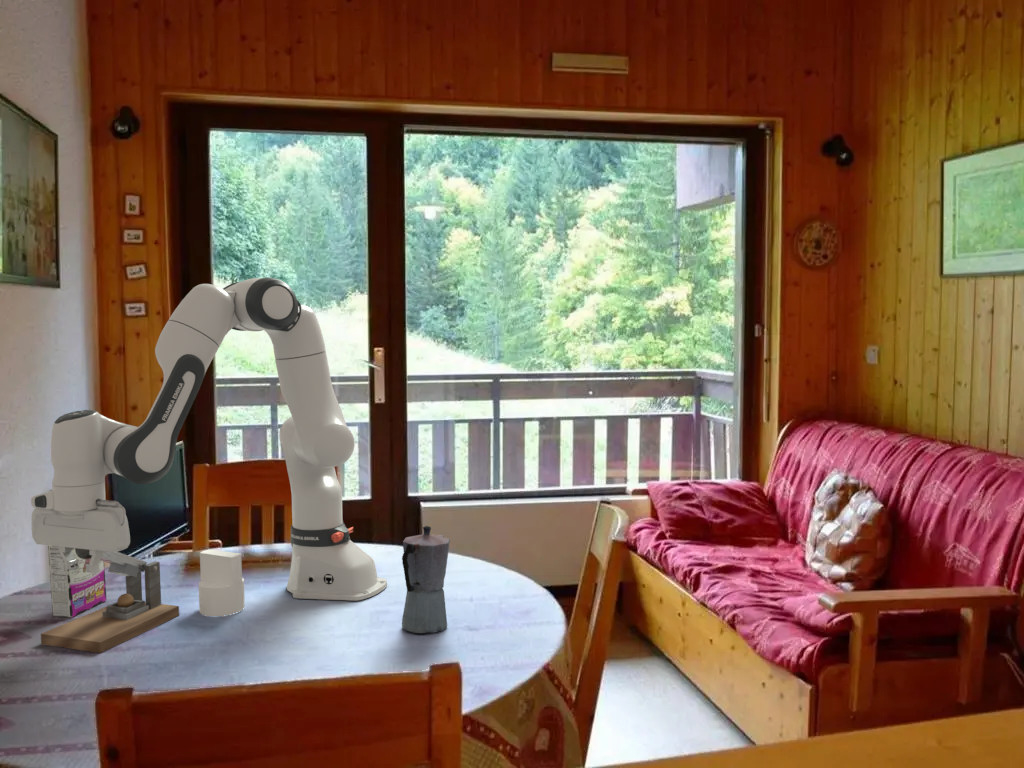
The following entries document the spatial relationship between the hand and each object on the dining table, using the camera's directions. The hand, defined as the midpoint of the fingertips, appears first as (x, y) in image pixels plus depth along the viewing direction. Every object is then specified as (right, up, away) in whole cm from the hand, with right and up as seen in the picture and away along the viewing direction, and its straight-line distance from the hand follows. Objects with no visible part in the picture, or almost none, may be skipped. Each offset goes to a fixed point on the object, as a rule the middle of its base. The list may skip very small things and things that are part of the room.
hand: (82, 570), depth 164 cm
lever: (+2, -1, +6) cm, 6 cm away
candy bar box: (-10, -12, +20) cm, 26 cm away
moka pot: (+64, -13, +7) cm, 65 cm away
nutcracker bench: (+2, -13, +8) cm, 15 cm away
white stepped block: (+20, -12, +19) cm, 30 cm away
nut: (+3, -10, +11) cm, 15 cm away
